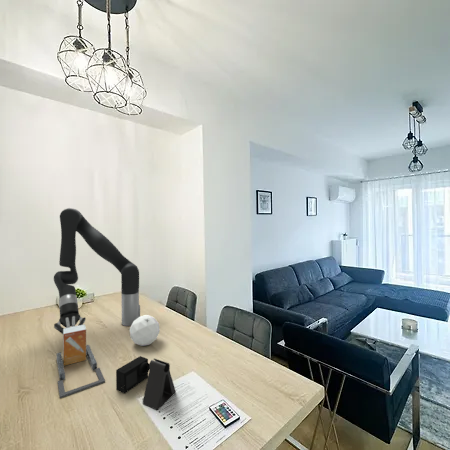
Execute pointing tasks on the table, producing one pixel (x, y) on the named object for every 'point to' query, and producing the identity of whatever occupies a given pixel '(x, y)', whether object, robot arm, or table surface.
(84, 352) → the small box
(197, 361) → the table surface
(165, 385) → the phone stand
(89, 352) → the grey u-shaped frame
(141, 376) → the digital camera
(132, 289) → the robot arm
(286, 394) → the table surface
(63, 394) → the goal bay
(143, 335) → the geodesic sphere
